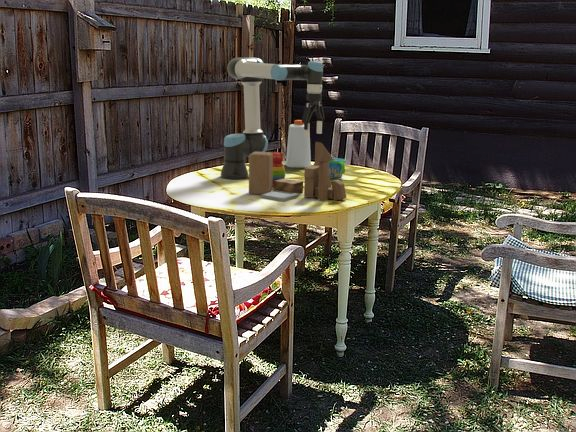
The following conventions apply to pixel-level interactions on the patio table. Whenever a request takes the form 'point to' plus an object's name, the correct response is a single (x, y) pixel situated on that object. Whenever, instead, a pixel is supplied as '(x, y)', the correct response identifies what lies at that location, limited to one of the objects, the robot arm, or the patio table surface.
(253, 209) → the patio table surface
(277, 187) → the walnut brick
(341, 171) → the snack cup
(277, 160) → the stacking bear
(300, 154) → the plastic bottle
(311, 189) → the wooden blocks
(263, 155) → the wooden block
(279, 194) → the plate
